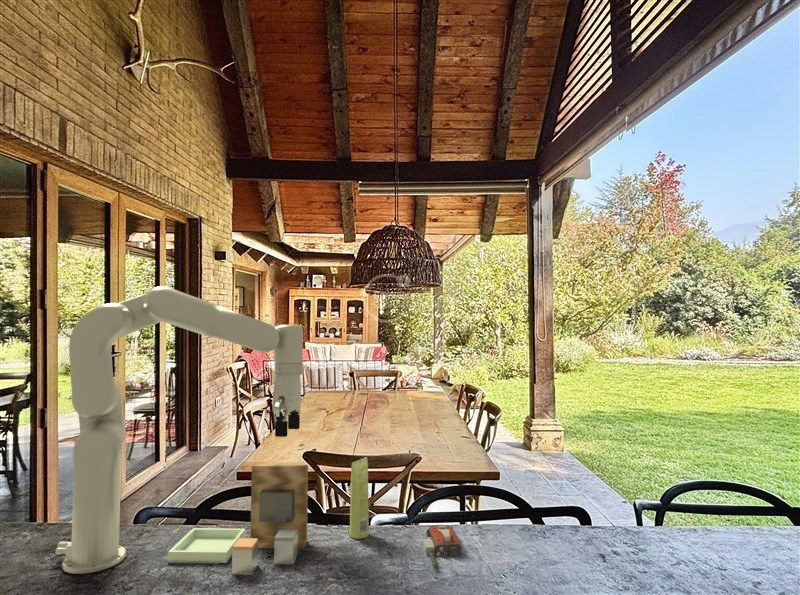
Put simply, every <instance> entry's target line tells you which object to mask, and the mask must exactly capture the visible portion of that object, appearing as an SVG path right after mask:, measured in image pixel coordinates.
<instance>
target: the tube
mask: <svg viewBox="0 0 800 595" xmlns="http://www.w3.org/2000/svg"><path fill="white" fill-rule="evenodd" d="M368 464H369V462H368V456H365V457H363V458H361V459H358V460H356V461H353V462H352V463H351V468H350V470H351V473H350V474H351V475H350V504H349V505H350V506H349V508H350V509H349V536H350V537H351V538H352V539H356V540H358V539H359V540H360V539H365V538H367V537H368V536H369V534H370V532H369V531H370V528H369V527H370V526H369V525H370V522H369V521H370V520H369V519H370V518H369V511H370V510H369V471H368V470H369V468H368V467H369V465H368Z"/></svg>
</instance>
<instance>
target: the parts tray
mask: <svg viewBox="0 0 800 595" xmlns="http://www.w3.org/2000/svg"><path fill="white" fill-rule="evenodd" d="M246 531H247V530H246V528H228V527H227V528H222V527H221V528H218V527H217V528H216V527H213V528H212V527H211V528H210V527H209V528H207V527H206V528H205V527H204V528H203V527H193V528H192V529H191V530H190V531H189V532H187V534H185V535H184V536H183V537H182V538H181V539H180V540H179V541H178V542H177V543H176V544H175V545H173V547H171V549H169V551H168V552H167V563H168V564H219V563H226V564H227V563H229V561H230V559H232V547H233V545H234V544H235V543H236V542H237V540H238V539H239V538H246V533H247V532H246Z"/></svg>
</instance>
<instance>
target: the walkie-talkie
mask: <svg viewBox="0 0 800 595" xmlns="http://www.w3.org/2000/svg"><path fill="white" fill-rule="evenodd" d="M425 534H426V536H427V538H426V539H424V541H423V549H424V554H425V556H426V555H429V556H428V557H429V558H430V562H431V565H432V567H433V568H434V569H438V563H437V561H436V558H435V555H436V557H438V558H439V557H441V556H440V555H447V556H453V557H456V556H461V555H462V544H461V541H460V540H459V537H458V536H457V534H456V532H455V530H454V528H453V527H452V526H450V525H449V524H448V525H447V524H445V525H444V524H443V525H442V524H441V525H431V526H430V527H428V529H426V533H425ZM460 554H461V555H460Z"/></svg>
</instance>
